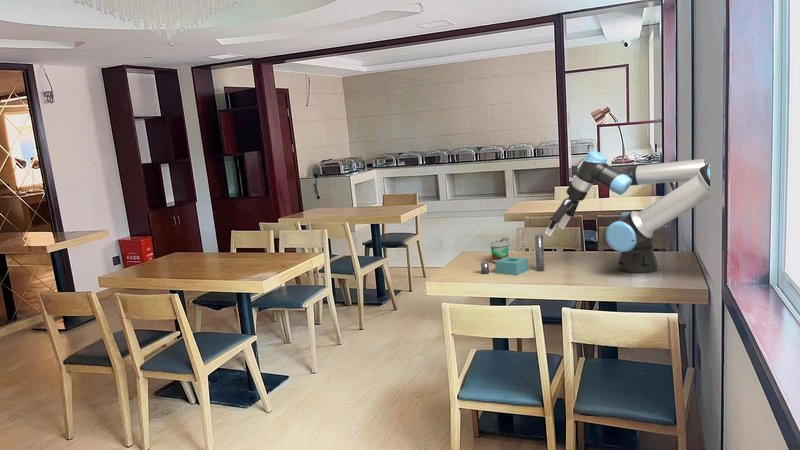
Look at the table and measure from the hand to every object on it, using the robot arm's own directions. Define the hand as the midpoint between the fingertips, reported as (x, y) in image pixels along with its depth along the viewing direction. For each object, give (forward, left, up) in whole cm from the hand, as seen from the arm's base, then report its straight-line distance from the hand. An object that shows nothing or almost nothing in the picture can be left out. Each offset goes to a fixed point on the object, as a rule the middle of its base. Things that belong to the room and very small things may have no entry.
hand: (554, 231), depth 231 cm
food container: (+28, -6, -17) cm, 33 cm away
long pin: (+5, +3, -16) cm, 18 cm away
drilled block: (+15, +9, -16) cm, 24 cm away
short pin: (+24, +16, -17) cm, 34 cm away
